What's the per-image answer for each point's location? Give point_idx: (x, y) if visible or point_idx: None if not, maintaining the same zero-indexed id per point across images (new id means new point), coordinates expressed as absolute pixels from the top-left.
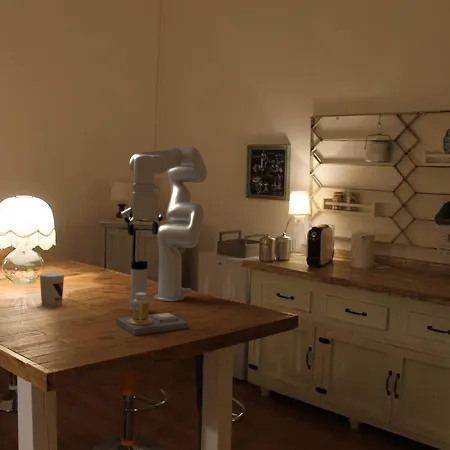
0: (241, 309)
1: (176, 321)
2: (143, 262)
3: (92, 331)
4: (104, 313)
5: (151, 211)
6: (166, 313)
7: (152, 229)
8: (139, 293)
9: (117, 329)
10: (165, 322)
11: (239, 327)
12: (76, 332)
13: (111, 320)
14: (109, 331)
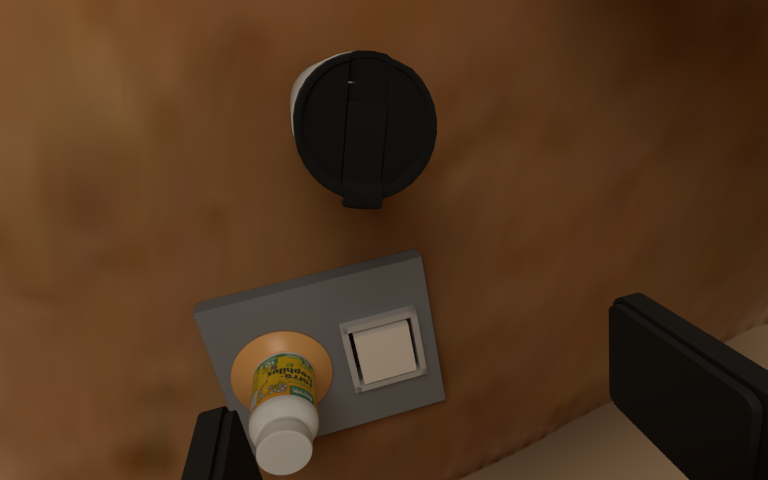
0: (726, 176)
1: (413, 382)
2: (387, 194)
3: (93, 386)
4: (154, 108)
5: None
6: (400, 331)
7: (654, 345)
8: (277, 449)
9: (194, 372)
10: (372, 390)
11: (589, 396)
12: (26, 391)
13: (181, 244)
14: (161, 392)
